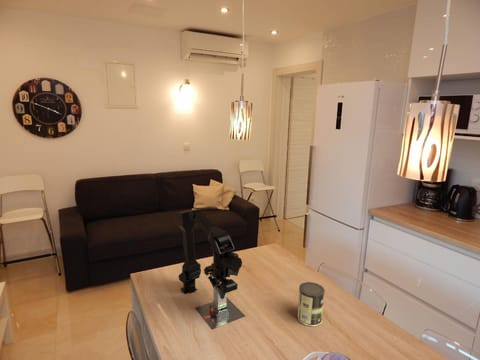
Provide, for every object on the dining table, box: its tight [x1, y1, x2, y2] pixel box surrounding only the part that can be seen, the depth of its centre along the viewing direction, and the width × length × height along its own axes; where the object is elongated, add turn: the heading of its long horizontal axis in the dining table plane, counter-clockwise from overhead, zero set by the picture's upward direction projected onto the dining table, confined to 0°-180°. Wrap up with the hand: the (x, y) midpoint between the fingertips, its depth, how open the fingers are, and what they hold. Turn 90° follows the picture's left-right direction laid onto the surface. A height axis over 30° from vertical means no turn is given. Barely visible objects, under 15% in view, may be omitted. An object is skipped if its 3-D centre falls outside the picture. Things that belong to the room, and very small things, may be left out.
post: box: [212, 283, 227, 310], centre depth 131 cm, size 4×4×9 cm
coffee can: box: [297, 281, 326, 328], centre depth 130 cm, size 10×10×14 cm
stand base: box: [194, 296, 246, 330], centre depth 133 cm, size 16×16×4 cm
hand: (220, 296), depth 131 cm, fingers closed on post, 4 cm apart
